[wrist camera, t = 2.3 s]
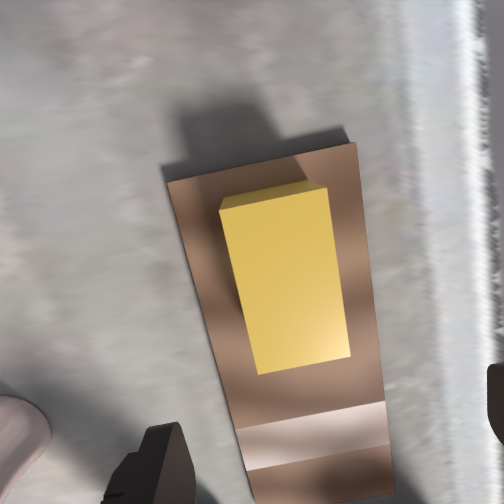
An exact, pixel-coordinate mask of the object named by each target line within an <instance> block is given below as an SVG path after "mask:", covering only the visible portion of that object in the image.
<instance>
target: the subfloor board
mask: <svg viewBox="0 0 504 504" xmlns="http://www.w3.org/2000/svg"><path fill="white" fill-rule="evenodd" d="M304 180H310V181H312V182H315V183H317V184H319V185H322V186H324V187H327V192H328V199H329V206H330V213H331V220H332V227H333V234H334V241H335V248H336V256H337V263H338V270H339V277H340V284H341V291H342V298H343V305H344V312H345V319H346V326H347V333H348V340H349V347H350V355H351V357H346V358H341V359H336V360H331V361H326V362H321V363H316V364H311V365H305V366H300V367H295V368H290V369H285V370H280V371H275V372H270V373H265V374H260V375H258V373H257V368H256V364H255V360H254V356H253V352H252V347H251V343H250V339H249V335H248V331H247V326H246V322H245V318H244V314H243V310H242V305H241V301H240V297H239V293H238V288H237V284H236V280H235V276H234V272H233V267H232V263H231V259H230V255H229V251H228V246H227V242H226V238H225V234H224V230H223V225H222V221H221V217H220V213H219V209H220V206H221V204H222V201H223V199H224V198H225V197H229V196H234V195H239V194H243V193H248V192H253V191H257V190H262V189H267V188H272V187H276V186H281V185H286V184H290V183H295V182H300V181H304ZM167 185H168V189H169V192H170V196H171V200H172V203H173V207H174V210H175V214H176V218H177V221H178V225H179V229H180V232H181V236H182V239H183V243H184V247H185V250H186V254H187V257H188V261H189V265H190V268H191V272H192V276H193V279H194V283H195V286H196V290H197V294H198V297H199V301H200V304H201V308H202V312H203V315H204V319H205V323H206V326H207V330H208V333H209V337H210V341H211V344H212V348H213V351H214V355H215V359H216V362H217V366H218V370H219V373H220V377H221V380H222V384H223V388H224V391H225V395H226V398H227V402H228V406H229V409H230V413H231V417H232V420H233V424H234V427H235V431H236V435H237V438H238V442H239V445H240V449H241V453H242V456H243V460H244V464H245V467H246V471H247V474H248V478H249V482H250V485H251V489H252V492H253V496H254V500H255V503H256V504H338V503H343V502H349V501H354V500H359V499H365V498H370V497H376V496H381V495H387V494H392V493H395V484H394V475H393V466H392V458H391V449H390V440H389V431H388V422H387V413H386V404H385V395H384V386H383V377H382V368H381V360H380V351H379V342H378V333H377V324H376V315H375V306H374V297H373V288H372V279H371V270H370V261H369V253H368V244H367V235H366V226H365V217H364V208H363V199H362V190H361V181H360V172H359V163H358V154H357V146H356V142H351V143H346V144H342V145H337V146H332V147H328V148H323V149H318V150H314V151H309V152H304V153H300V154H295V155H291V156H286V157H281V158H277V159H272V160H267V161H263V162H258V163H253V164H249V165H244V166H240V167H235V168H230V169H226V170H221V171H216V172H212V173H207V174H203V175H198V176H193V177H189V178H184V179H179V180H175V181H170V182H168V183H167Z"/></svg>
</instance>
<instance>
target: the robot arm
mask: <svg viewBox="0 0 504 504" xmlns="http://www.w3.org/2000/svg"><path fill="white" fill-rule="evenodd" d="M487 413H488V419H489V422H490V425H491V427H492V429H493V431H494V433H495V435H496V436H497V438H498V439H499V441H500V442H501V443H502V444H503V445H504V362H501V363H496V364H491V365H490V366H489V367H488V369H487ZM195 490H196V480H195V471H194V466H193V463H192V460H191V456H190V453H189V450H188V447H187V444H186V441H185V438H184V435H183V432H182V428H181V426H180V424H179V423H178V422H172V423H167V424H162V425H156V426H151V427H148V428H147V430H146V432H145V435H144V437H143V440H142V443H141V446H140V449H139V451H138V452H133V453H128V455H127V456H126V457H125V458H124V460H123V461H122V462H121V464H120V465H119V466H118V467H117V469H116V470H115V471H114V473H113V474H112V477H111V479H110V481H109V484H108V486H107V489H106V491H105V494H104V499H103V501H101V503H100V504H194V499H195Z"/></svg>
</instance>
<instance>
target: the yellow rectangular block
mask: <svg viewBox="0 0 504 504" xmlns="http://www.w3.org/2000/svg"><path fill="white" fill-rule="evenodd" d="M219 213H220V217H221V221H222V225H223V230H224V234H225V238H226V242H227V246H228V251H229V255H230V259H231V263H232V267H233V272H234V276H235V280H236V284H237V288H238V293H239V297H240V301H241V305H242V310H243V314H244V318H245V322H246V326H247V331H248V335H249V339H250V343H251V347H252V352H253V356H254V360H255V364H256V368H257V373H258V375H260V374H265V373H270V372H275V371H280V370H285V369H290V368H295V367H300V366H305V365H311V364H316V363H321V362H326V361H331V360H336V359H341V358H346V357H351V355H350V347H349V340H348V333H347V326H346V319H345V312H344V305H343V298H342V291H341V284H340V277H339V270H338V263H337V256H336V248H335V241H334V234H333V227H332V220H331V213H330V206H329V199H328V192H327V187H324V186H322V185H319V184H317V183H315V182H312V181H310V180H304V181H300V182H295V183H290V184H286V185H281V186H276V187H272V188H267V189H262V190H257V191H253V192H248V193H243V194H239V195H234V196H229V197H225V198H224V199H223V201H222V204H221V206H220V209H219Z"/></svg>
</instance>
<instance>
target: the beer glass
mask: <svg viewBox="0 0 504 504" xmlns="http://www.w3.org/2000/svg"><path fill="white" fill-rule="evenodd" d="M50 438H51V429H50V426H49V423H48V421H47V419H46V417H45V416H44V415H43V413H42V412H41V411H40V410H39V409H38V408H36V407H35V406H34V405H32V404H30V403H29V402H27V401H25V400H22V399H19V398H16V397H11V396H0V504H4V502H5V500H6V499H7V497H8V495H9V494H10V492H11V490H12V489H13V487H14V486H15V485H16V483H17V482H18V481H19V479H20V478H21V477H22V476H23V475H24V473H25V472H26V471H27V470H28V469H29V468H30V467H31V466H32V465H33V464H34V463H35V462H36V461H37V460H38V459H39V457H40V456H41V455H42V454H43V453H44V451H45V450H46V449H47V447H48V445H49V442H50Z"/></svg>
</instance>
